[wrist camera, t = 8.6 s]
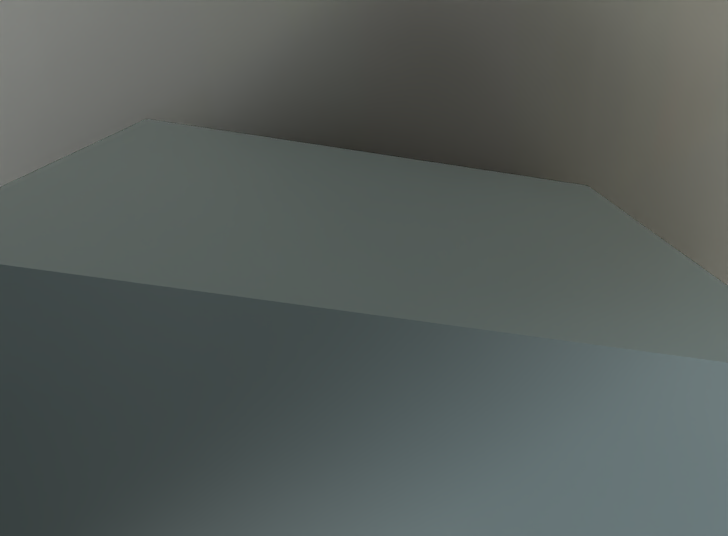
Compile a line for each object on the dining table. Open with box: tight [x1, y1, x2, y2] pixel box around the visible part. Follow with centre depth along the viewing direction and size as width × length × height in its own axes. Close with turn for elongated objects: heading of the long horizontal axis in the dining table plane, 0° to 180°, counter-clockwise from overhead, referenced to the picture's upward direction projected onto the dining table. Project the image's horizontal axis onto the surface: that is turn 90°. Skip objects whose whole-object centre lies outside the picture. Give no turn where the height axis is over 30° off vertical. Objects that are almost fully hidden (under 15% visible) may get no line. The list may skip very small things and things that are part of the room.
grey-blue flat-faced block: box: [0, 119, 728, 536], centre depth 13 cm, size 10×10×9 cm
